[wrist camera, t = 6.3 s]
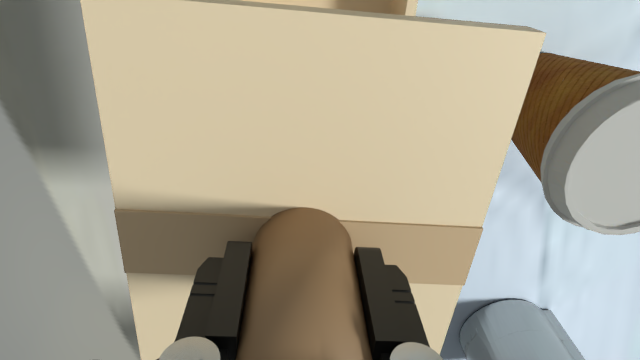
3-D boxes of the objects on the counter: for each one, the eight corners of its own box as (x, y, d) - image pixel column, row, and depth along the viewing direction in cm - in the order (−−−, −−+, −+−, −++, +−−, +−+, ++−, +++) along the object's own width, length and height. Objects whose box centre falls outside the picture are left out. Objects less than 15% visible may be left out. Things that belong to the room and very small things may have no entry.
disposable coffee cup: (475, 162, 35) (552, 257, 25) (467, 49, 30) (559, 107, 20) (591, 134, 34) (721, 220, 24) (602, 13, 30) (770, 55, 19)
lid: (527, 26, 12) (754, 105, 6) (420, 371, 18) (476, 563, 13) (96, -13, 11) (-143, 35, 5) (153, 366, 18) (82, 570, 12)
